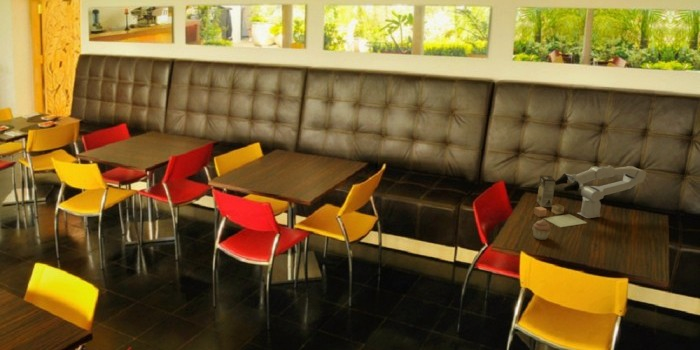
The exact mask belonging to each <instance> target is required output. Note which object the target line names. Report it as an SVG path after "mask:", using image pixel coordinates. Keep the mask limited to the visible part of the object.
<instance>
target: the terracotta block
mask: <svg viewBox="0 0 700 350" xmlns="http://www.w3.org/2000/svg"><path fill="white" fill-rule="evenodd" d="M533 210H534V211H533V215H534V214H535V216H536V215H537V216H536V217H538V218H544V217H546V216H547V212H548V211H547V208H546V207H541V206H537V207H536V206H535V207H534V208H533Z"/></svg>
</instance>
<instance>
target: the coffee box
mask: <svg viewBox="0 0 700 350" xmlns="http://www.w3.org/2000/svg"><path fill="white" fill-rule="evenodd" d="M555 181H556V179H555V178H554V176H552V175H540V176H539V184H538V191H537V198H536V203H538V205H539V207H543V208H552V205H553V202H554V201H553V200H554V193H555V186H556V185H555Z"/></svg>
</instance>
